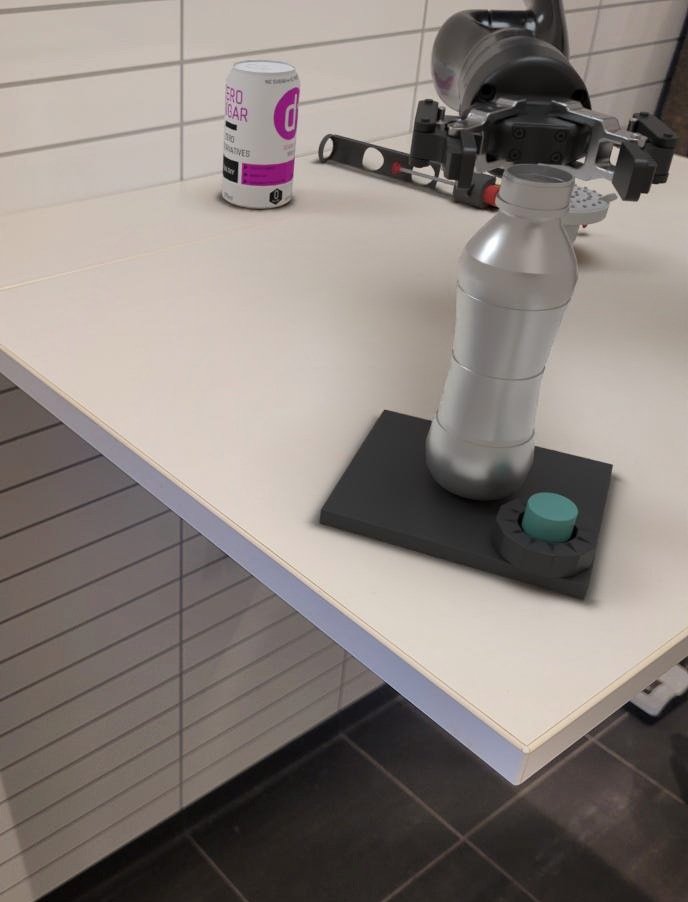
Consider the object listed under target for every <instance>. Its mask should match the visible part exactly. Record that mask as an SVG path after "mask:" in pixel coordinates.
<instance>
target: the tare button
mask: <svg viewBox="0 0 688 902" xmlns="http://www.w3.org/2000/svg"><path fill="white" fill-rule="evenodd" d="M577 515H578V509H577V507H576V505H575V504H574V503H573V502H572V501H571V500H569V499H567V498H566V497H563V496H561V495H558V494H554V493H537V494H534V495H532V496H531V497H530V498H529V499H528V502H527V506H526V510H525V513H524V517H523V521H522V528H523V530H524V532H525V533H526V534H528V535H529V536H531V537H532V538H534V539H537V540H541V541H545V542H548V543H564V542H566V541H567V540H569V539H570V537H571V534H572V531H573V528H574V524H575V521H576V518H577Z"/></svg>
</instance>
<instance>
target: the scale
mask: <svg viewBox="0 0 688 902" xmlns="http://www.w3.org/2000/svg"><path fill="white" fill-rule="evenodd" d="M432 421H433V420H430V419H426V418H422V417H418V416H414V415H410V414H405V413H401V412H398V411H394V410H390V409H384V408H383V410H382V412H381V414H380V415H379V417H378V418H377V420H376V422H375V423H374V425H373V426H372V428H371V430H370V431H369V433H368V434H367V436H366V438H365V439H364V440H363V442H362V443H361V445H360V447H359V448H358V449H357V452H356V453H355V455H354V457H353V458H352V460H351V461H350V463H349V464H348V466H347V467H346V468H345V471H344V472H343V473H342V475H341V477H340V479H339V480H338V481H337V484H336V485H334V486H335V487H334V488H333V490H332V491H331V493H330V494H329V496H328V498H327V499H326V501H324V504H323V505H322V507H321V508H320V513H319V521H318V523H319V524H321V525H325V526H327V527H331V528H334V529H339V530H341V531H346V532H349V533H352V534H355V535H359V536H361V537H366V538H369V539H372V540H375V541H379V542H383V543H387V544H390V545H394V546H397V547H400V548H404V549H407V550H411V551H415V552H418V553H421V554H424V555H426V556H427V555H428V556H431V557H434V558H437V559H441V560H445V561H447V562H452V563H455V564H458V565H461V566H462V565H463V566H465V567H470V568H473V569H475V570H479V571H482V572H486V573H490V574H493V575H496V576H500V577H504V578H507V579H510V580H514V581H517V582H521V583H523V584H528V585H531V586H534V587H538V588H541V589H544V590H548V591H552V592H554V593H559V594H561V595H565V596H569V597H572V598H575V599H579V600H583V601H585V599H586V596H587V593H588V590H589V587H590V581H591V577H592V572H593V567H594V562H595V556H596V552H597V548H598V542H599V539H600V538H599V537H600V532H601V527H602V522H603V517H604V513H605V508H606V504H607V497H608V493H609V488H610V483H611V477H612V474H613V467H614V464H612V463H608V462H604V461H600V460H596V459H591V458H589V457H588V458H587V457H583V456H579V455H575V454H571V453H567V452H563V451H559V450H555V449H550V448H546V447H542V446H537V445H535V447H534V457H533V463H532V466H531V468H530V471H529V473H528V475H527V477H526V479H525V481H524V483H523V484H522V486H521V487H520V488H518V489H517V490H516V491H514V492H513V493H512V494H510V495H508V496H507V497H504V498H502V499H497V500H487V501H484V500H474V499H468V498H465V497H461V496H458V495H456V494H453V493H451V492H449V491H448V490H446V489H444V488H443V487H442V486H440V485H439V484H438V483H437V482H436V481H435V479H434V478H433V476H432V474H431V472H430V470H429V469H428V467H427V463H426V438H427V435H428V432H429V429H430V426H431V423H432ZM537 493H554V494H558V495H561V496H563V497H566V498H567V499H569V500H571V501H572V502H573V503H574V504H575V505H576V507H577V509H578V515H577V518H576V521H575V524H574V528H573V531H572V534H571V537H570V539H569V540H567V541H566V542H564V543H548V542H545V541H541V540H537V539H534V538H532V537H531V536H529V535H528V534H526V533H525V532H524V530H523V528H522V521H523V517H524V513H525V510H526V506H527V502H528V499H529V498H530V497H531V496H532V495H534V494H537Z"/></svg>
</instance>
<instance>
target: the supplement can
mask: <svg viewBox="0 0 688 902" xmlns="http://www.w3.org/2000/svg"><path fill="white" fill-rule="evenodd" d="M299 77H300V76H299V75H298V72H297V68H296V66H295V65H294V64H293V63H289V62H286V61H282V60H281V61H280V60H273V59H245V60H239V61H236V62H233V63H232V64H231V69H230V70H229V72H228V75H227V76H226V78H225V88H224V89H225V91H224V93H225V94H224V98H225V99H224V123H223V148H222V149H223V150H222V153H223V155H222V177H221V178H222V183H221V195H222V198H223V199H224V200H226V201H227V202H228V203H229V204H230V205H234V206H237V207H240V208H247V209H256V210H258V209H259V210H265V209H274V208H280V207H281V206H283V205H285V204H287V203H289V202H290V201H291V199H292V197H293V188H294V173H295V160H296V148H297V147H296V146H297V132H298V121H299V107H300V94H301V80H300V78H299Z"/></svg>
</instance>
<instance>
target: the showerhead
mask: <svg viewBox="0 0 688 902" xmlns="http://www.w3.org/2000/svg"><path fill="white" fill-rule="evenodd" d="M618 197H619V196H618V194H616V192H612V193H611V192H610V193H607V194H604V195H603V194H602V193H600V192H598V191H597V190H595V189H589V188H588V186H584V187H583V186H578V184H577V183H575V185H574V188H573V192H572V196H571V200H570V202H571V208H570V212H569V214H567V215H566V216H563V217H562V225H563V227H564V229H565V231H566V233H567V235H568V237H569V239H570V241H571V244H573V243H575V241H576V240H577V236H578V232H579V229H580V226H582V225H587V224H588V225H593V224H597V223H599V222H600V223H601V222H602V221H604V220H605V219H606V218H607V214H608V211H609V208H610V205H611V203H612V202H614V201H615V200H618ZM588 225H587V226H588Z"/></svg>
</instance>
